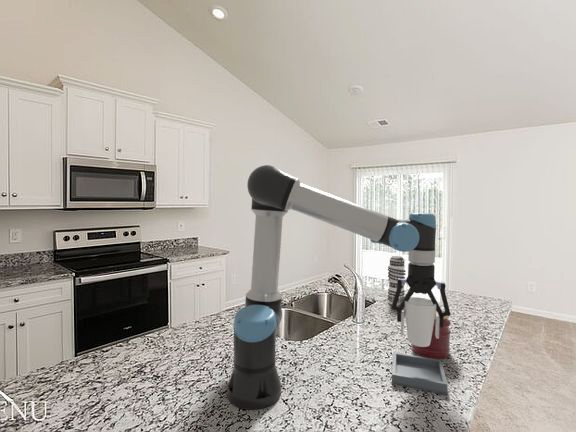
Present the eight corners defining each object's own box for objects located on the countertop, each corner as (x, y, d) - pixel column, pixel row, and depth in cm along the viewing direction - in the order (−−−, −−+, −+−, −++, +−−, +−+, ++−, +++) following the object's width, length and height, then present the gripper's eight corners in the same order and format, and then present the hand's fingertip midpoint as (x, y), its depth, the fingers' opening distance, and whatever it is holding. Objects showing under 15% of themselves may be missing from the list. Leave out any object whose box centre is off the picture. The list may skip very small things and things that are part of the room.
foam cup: (438, 350, 95) (440, 307, 94) (405, 347, 97) (406, 305, 96) (431, 337, 104) (432, 297, 104) (401, 334, 106) (402, 295, 105)
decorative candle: (383, 300, 177) (384, 255, 176) (397, 299, 180) (399, 255, 179) (393, 305, 168) (394, 258, 167) (408, 304, 171) (409, 257, 170)
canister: (445, 345, 123) (447, 300, 122) (453, 362, 110) (455, 311, 109) (409, 341, 126) (410, 297, 125) (412, 356, 114) (414, 307, 113)
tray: (447, 394, 91) (447, 384, 91) (391, 384, 96) (391, 374, 96) (441, 368, 106) (441, 360, 105) (393, 360, 111) (393, 352, 110)
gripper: (459, 263, 99) (457, 334, 100) (384, 258, 106) (383, 325, 108) (463, 268, 92) (461, 345, 93) (383, 262, 99) (381, 333, 101)
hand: (419, 334), depth 100 cm, fingers closed on foam cup, 9 cm apart
